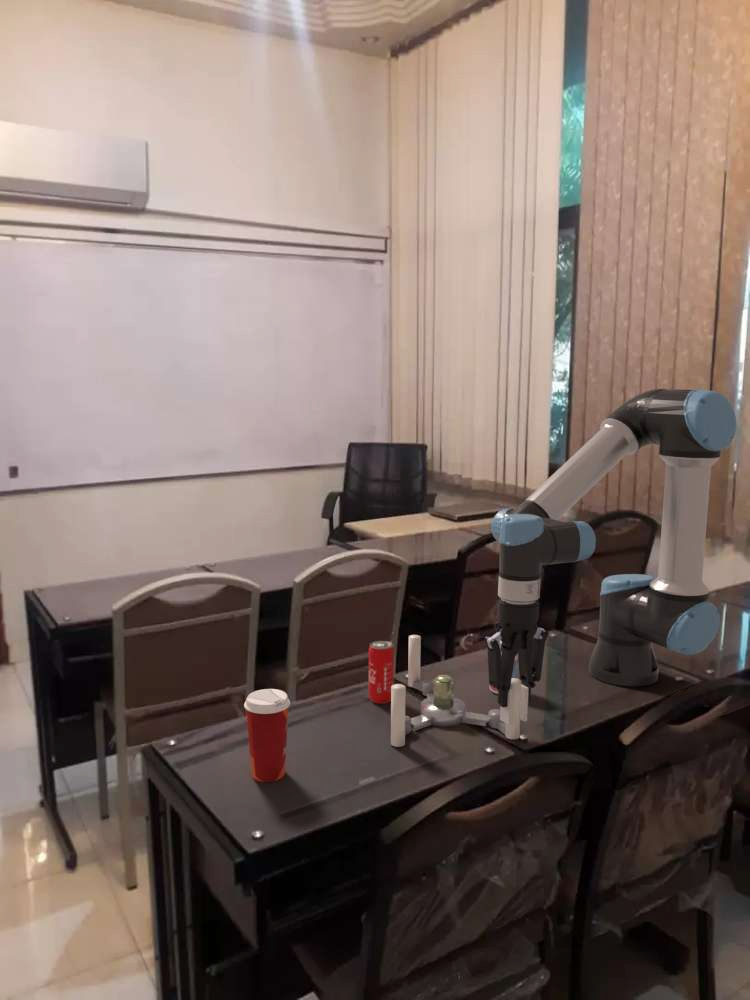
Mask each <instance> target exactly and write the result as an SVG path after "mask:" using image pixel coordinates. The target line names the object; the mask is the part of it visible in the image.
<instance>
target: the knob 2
mask: <svg viewBox="0 0 750 1000" xmlns="http://www.w3.org/2000/svg"><path fill="white" fill-rule="evenodd" d="M510 690H512V691H513V713H512V725H508V724H506V723H504V722H503V721H501V720H500V708H499V709H498V708H494V709H493V708H492V709H489V710H488V714H487V715H488V723H487V725H488V726H489V727H491V728H492V729H498V730H499V731H500V732H501V733H502V734H503V735H505V737H506V738H507V739H509V740H518V739H520V731H521V730H520V727H521V726H520V725H521V719H520V705H521V680H520V678H518V679H517V678H512V679H511V685H510Z"/></svg>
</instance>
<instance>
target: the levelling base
mask: <svg viewBox="0 0 750 1000" xmlns="http://www.w3.org/2000/svg"><path fill="white" fill-rule="evenodd" d="M433 680H434V693H427V696H426V698H425V699H423V700H422V701H421V702H420V715H417V716H413V717H410V718H411V731H413V732H415V731H416V732H417V731H418V730H420V729H423V728H426V727H428V726H438V727H454V726H455V727H456V726H458V725H461V724H462V723H463V724H468V725H473V726H474V725H476V726H481V727H486V726H487V725H488V715H489V714H483V713H476V712H470V711H467V704H466V703H465V701H463V700H462V699H459V698H457V697H454V695H455V679H454V678H452V677H451V675H448V674H439V675H437V676H436V677H434V678H433Z"/></svg>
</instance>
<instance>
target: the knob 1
mask: <svg viewBox="0 0 750 1000" xmlns="http://www.w3.org/2000/svg"><path fill="white" fill-rule="evenodd" d="M406 691H407V690H406V685H405V684H402V683H395V684H393V685H392V686H391V701H390V702H391V703H390V745H391V746H393V747H395V748H400V747H404V746H405V744H406V735H408V734H410V733H412V732H411V731H412V730H411V718H412V717H410V716H408V715H406Z"/></svg>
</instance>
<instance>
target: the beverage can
mask: <svg viewBox="0 0 750 1000" xmlns="http://www.w3.org/2000/svg"><path fill="white" fill-rule="evenodd" d="M394 655H395V649H394V646H393V643H392V642H390V641H386V640H375V641H373V642H370V643H369V648H368V697H369V698H370V701H371V702H372V703H375V704H388V703H390V702H391V686H392V685H394V678H395V677H394V673H395V672H394V671H395V670H394V667H395V666H394V664H395V663H394V661H395V659H394Z"/></svg>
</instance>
